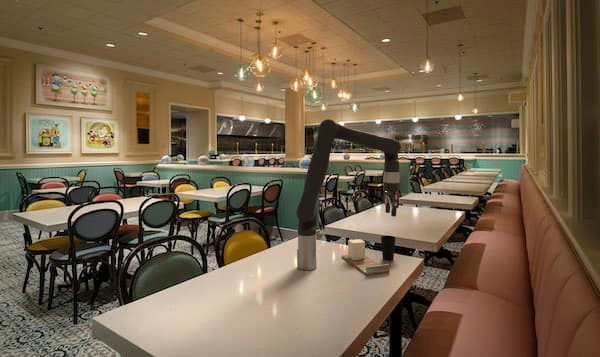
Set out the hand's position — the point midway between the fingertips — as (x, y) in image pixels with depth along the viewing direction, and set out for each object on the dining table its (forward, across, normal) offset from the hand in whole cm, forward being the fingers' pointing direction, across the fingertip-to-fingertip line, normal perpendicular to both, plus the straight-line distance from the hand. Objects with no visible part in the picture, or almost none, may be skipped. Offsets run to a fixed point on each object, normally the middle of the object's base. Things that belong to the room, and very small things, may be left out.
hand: (390, 214), depth 169 cm
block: (+27, -17, -12) cm, 34 cm away
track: (+28, -9, -10) cm, 31 cm away
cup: (+28, -15, +4) cm, 32 cm away
